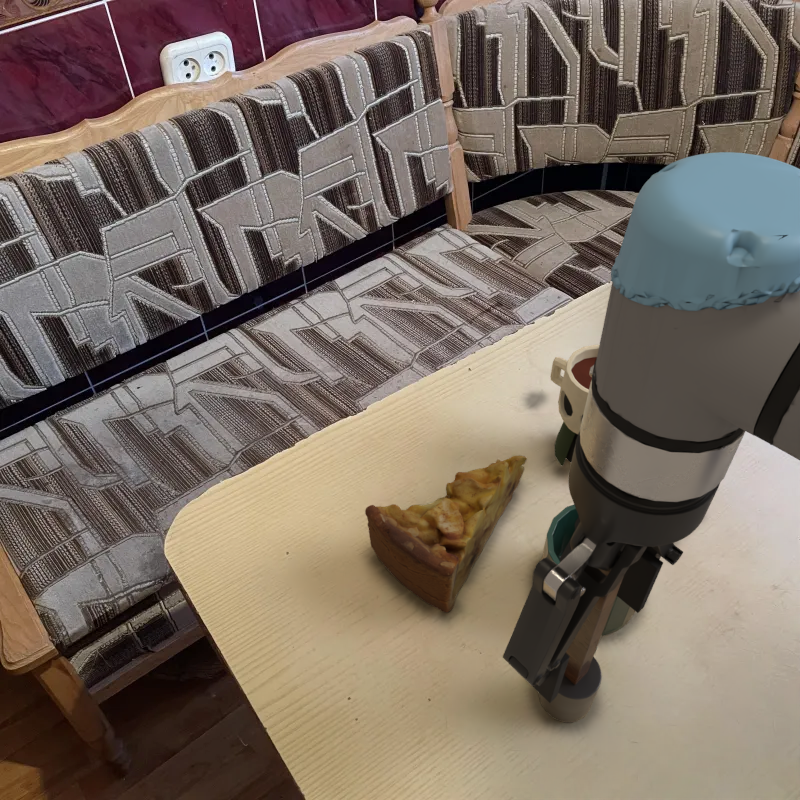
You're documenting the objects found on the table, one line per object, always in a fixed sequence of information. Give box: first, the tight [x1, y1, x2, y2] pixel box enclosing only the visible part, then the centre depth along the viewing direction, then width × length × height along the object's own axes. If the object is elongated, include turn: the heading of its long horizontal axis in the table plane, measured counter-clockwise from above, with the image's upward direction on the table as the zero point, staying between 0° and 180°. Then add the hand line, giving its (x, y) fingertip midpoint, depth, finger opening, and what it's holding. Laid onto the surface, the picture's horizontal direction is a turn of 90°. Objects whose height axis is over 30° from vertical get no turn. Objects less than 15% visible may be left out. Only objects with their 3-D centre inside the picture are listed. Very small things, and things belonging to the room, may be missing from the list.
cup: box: [540, 504, 636, 637], centre depth 67 cm, size 9×9×8 cm
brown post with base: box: [538, 569, 624, 723], centre depth 56 cm, size 4×4×22 cm
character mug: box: [550, 344, 600, 467], centre depth 76 cm, size 11×7×13 cm, turn 46°
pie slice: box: [364, 455, 528, 614], centre depth 72 cm, size 18×10×8 cm, turn 134°
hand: (584, 640), depth 56 cm, fingers open, 9 cm apart
